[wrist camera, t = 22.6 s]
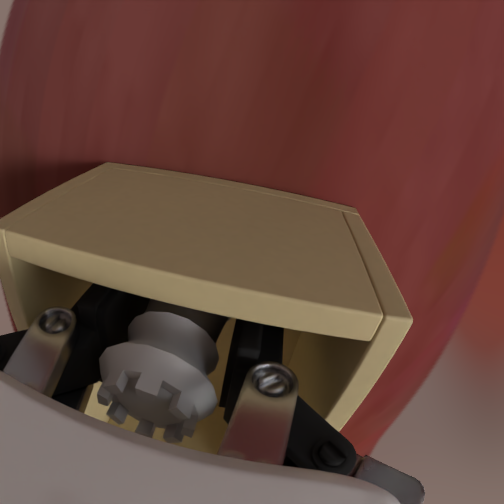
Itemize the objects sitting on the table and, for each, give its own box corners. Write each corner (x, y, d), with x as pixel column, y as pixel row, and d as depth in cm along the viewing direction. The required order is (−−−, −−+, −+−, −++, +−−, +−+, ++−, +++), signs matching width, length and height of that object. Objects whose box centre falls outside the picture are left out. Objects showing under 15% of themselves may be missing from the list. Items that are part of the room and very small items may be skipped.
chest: (107, 161, 13) (-13, 225, 6) (355, 207, 13) (415, 320, 6) (123, 373, 19) (83, 457, 13) (278, 410, 19) (271, 506, 13)
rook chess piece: (274, 291, 14) (259, 460, 7) (184, 306, 15) (123, 451, 8) (245, 196, 12) (186, 345, 5) (146, 223, 13) (33, 353, 6)
